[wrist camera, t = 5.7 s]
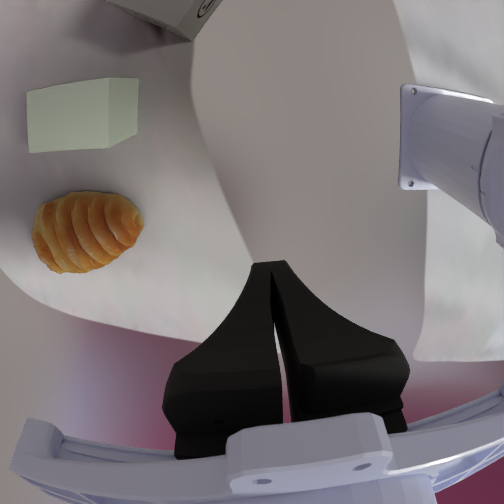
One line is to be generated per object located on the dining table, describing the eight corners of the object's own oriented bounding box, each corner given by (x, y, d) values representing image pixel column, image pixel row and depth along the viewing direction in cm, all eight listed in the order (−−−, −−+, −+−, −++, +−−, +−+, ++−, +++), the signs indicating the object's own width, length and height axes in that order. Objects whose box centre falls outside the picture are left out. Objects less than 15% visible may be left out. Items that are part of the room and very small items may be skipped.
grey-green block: (139, 78, 17) (109, 77, 13) (137, 134, 19) (108, 148, 15) (66, 86, 17) (26, 91, 13) (67, 137, 19) (29, 153, 15)
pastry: (129, 168, 21) (109, 184, 17) (158, 247, 24) (145, 274, 21) (40, 201, 21) (15, 220, 18) (70, 267, 25) (52, 292, 21)
